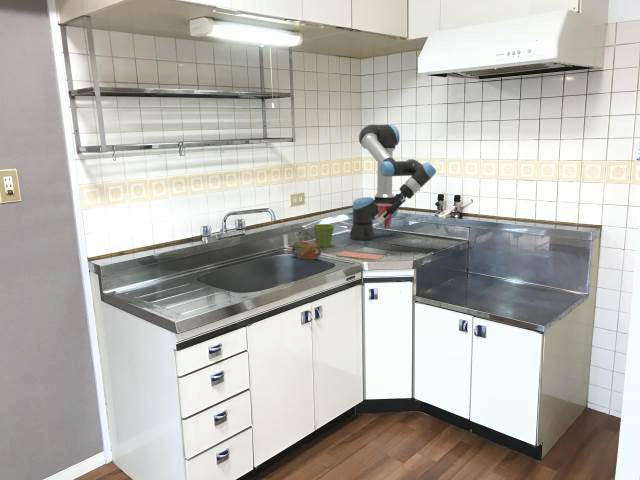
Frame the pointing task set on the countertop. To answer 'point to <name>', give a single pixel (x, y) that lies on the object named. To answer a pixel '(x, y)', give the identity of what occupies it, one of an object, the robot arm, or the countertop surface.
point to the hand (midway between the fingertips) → (377, 220)
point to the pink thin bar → (366, 252)
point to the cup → (381, 210)
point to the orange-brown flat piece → (306, 250)
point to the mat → (360, 255)
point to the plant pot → (323, 234)
